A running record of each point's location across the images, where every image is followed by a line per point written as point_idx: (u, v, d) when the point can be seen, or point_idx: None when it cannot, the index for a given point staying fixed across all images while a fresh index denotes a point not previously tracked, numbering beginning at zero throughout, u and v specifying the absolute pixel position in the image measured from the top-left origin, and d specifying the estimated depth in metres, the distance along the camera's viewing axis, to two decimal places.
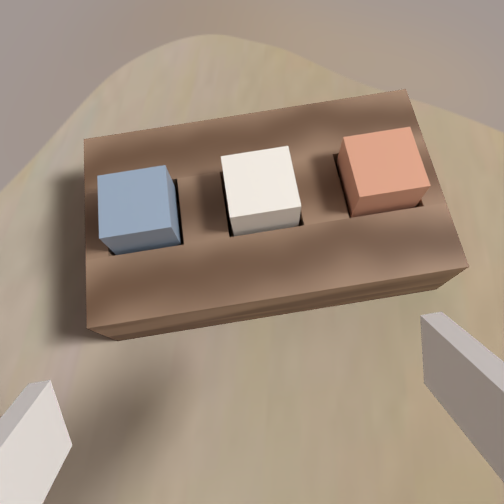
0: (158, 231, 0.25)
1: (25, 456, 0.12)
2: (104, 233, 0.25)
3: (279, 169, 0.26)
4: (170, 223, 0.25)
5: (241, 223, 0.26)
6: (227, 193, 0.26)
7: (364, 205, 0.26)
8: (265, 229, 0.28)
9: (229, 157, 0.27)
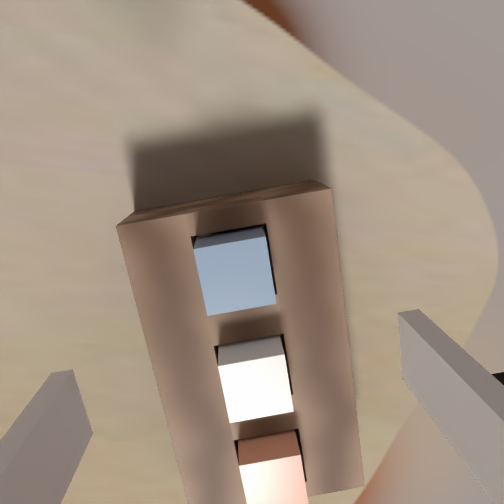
0: (204, 301, 0.26)
1: (52, 441, 0.12)
2: (198, 253, 0.25)
3: (268, 405, 0.28)
4: (211, 314, 0.26)
5: None
6: (243, 362, 0.27)
7: None
8: None
9: (282, 362, 0.27)
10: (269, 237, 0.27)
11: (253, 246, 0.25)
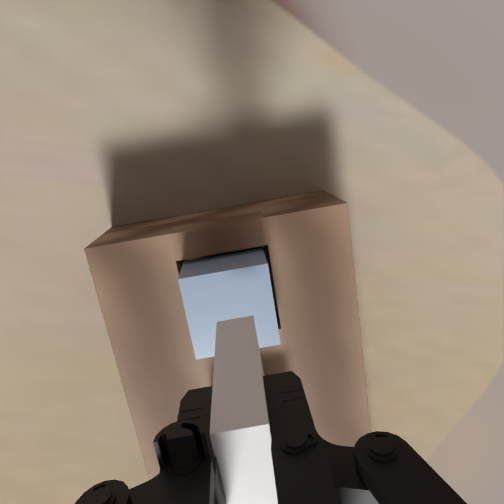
0: (193, 341, 0.21)
1: None
2: (184, 284, 0.20)
3: None
4: (201, 357, 0.21)
5: None
6: None
7: None
8: None
9: None
10: (271, 261, 0.22)
11: (252, 275, 0.20)
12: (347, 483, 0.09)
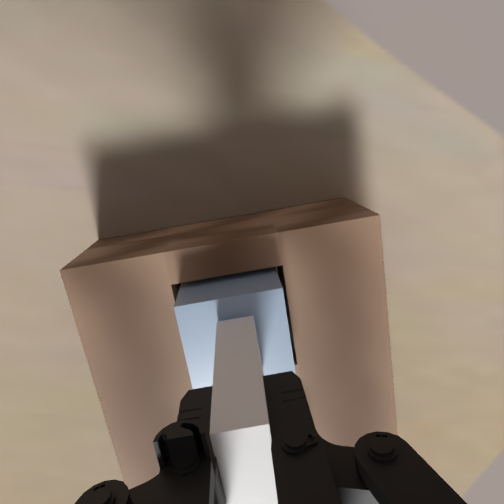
0: (192, 379, 0.18)
1: None
2: (182, 313, 0.17)
3: None
4: None
5: None
6: None
7: None
8: None
9: None
10: (287, 285, 0.19)
11: (264, 302, 0.17)
12: (347, 483, 0.09)
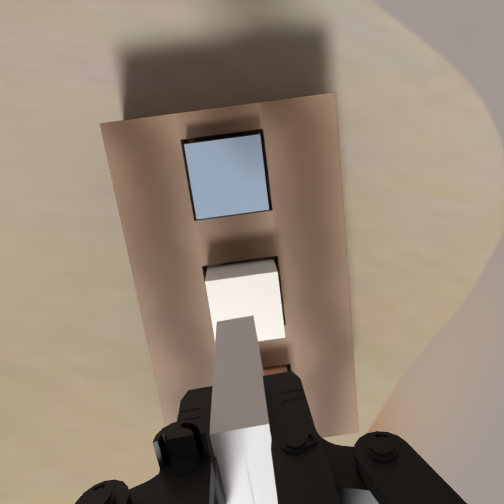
0: (194, 204, 0.25)
1: None
2: (189, 149, 0.24)
3: (258, 329, 0.26)
4: (201, 218, 0.25)
5: None
6: (232, 278, 0.25)
7: None
8: None
9: (275, 280, 0.25)
10: (266, 145, 0.25)
11: (247, 144, 0.24)
12: (347, 483, 0.09)
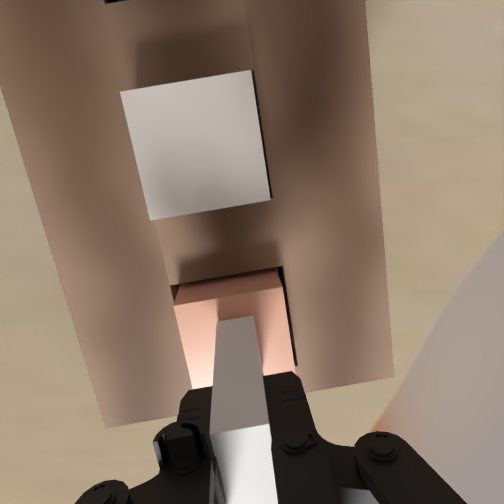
0: None
1: None
2: None
3: (222, 184, 0.15)
4: None
5: None
6: (170, 85, 0.14)
7: None
8: None
9: (247, 88, 0.14)
10: None
11: None
12: (347, 483, 0.09)
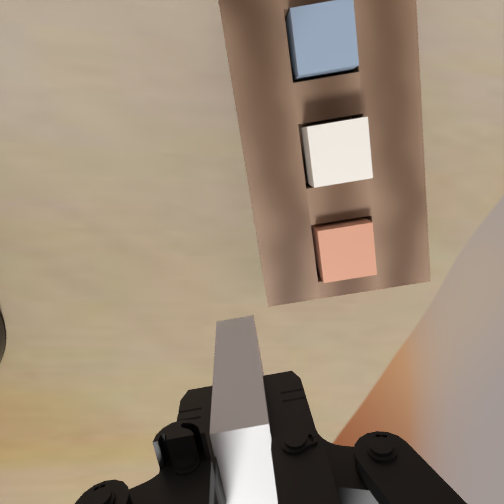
0: (296, 63, 0.30)
1: None
2: (294, 12, 0.29)
3: (350, 170, 0.30)
4: (301, 74, 0.30)
5: (305, 136, 0.31)
6: (329, 123, 0.30)
7: (315, 234, 0.34)
8: (305, 155, 0.33)
9: (365, 124, 0.30)
10: None
11: (342, 6, 0.29)
12: (347, 483, 0.09)
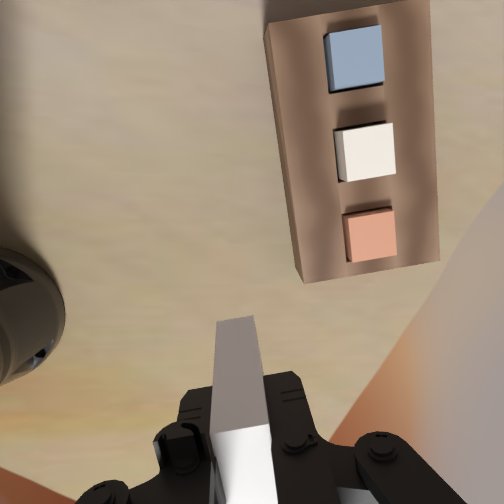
0: (332, 78, 0.36)
1: None
2: (333, 37, 0.35)
3: (377, 167, 0.37)
4: (337, 87, 0.36)
5: (340, 138, 0.37)
6: (361, 128, 0.36)
7: (344, 222, 0.40)
8: (337, 155, 0.39)
9: (390, 129, 0.36)
10: None
11: (371, 32, 0.35)
12: (347, 483, 0.09)
